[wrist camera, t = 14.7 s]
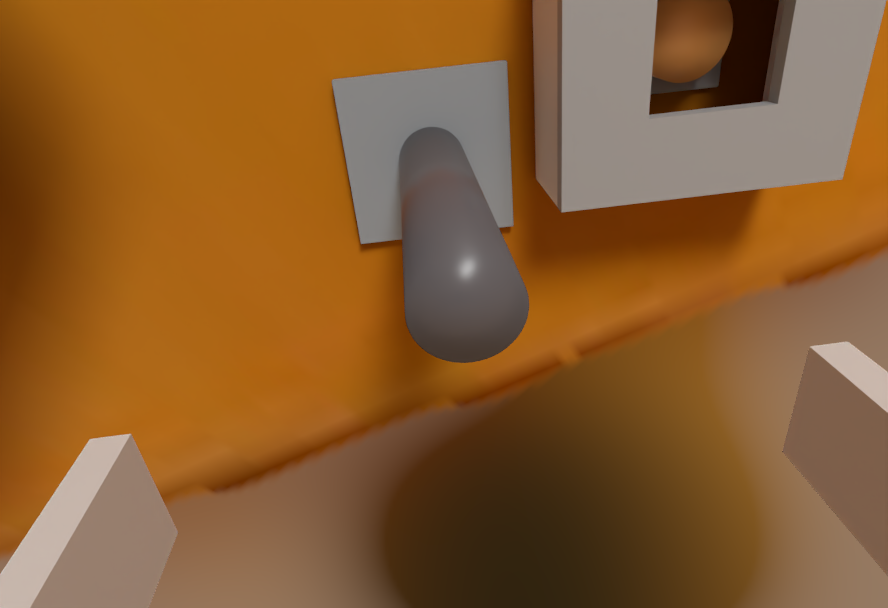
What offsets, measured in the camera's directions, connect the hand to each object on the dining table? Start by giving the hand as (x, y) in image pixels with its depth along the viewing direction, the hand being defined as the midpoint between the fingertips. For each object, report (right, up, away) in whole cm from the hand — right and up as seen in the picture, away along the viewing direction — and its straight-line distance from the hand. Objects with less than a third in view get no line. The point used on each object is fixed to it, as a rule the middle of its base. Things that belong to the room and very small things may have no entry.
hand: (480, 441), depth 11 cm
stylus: (-1, +11, +20) cm, 23 cm away
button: (+11, +17, +18) cm, 27 cm away
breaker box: (+11, +17, +18) cm, 27 cm away
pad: (-2, +11, +20) cm, 23 cm away
